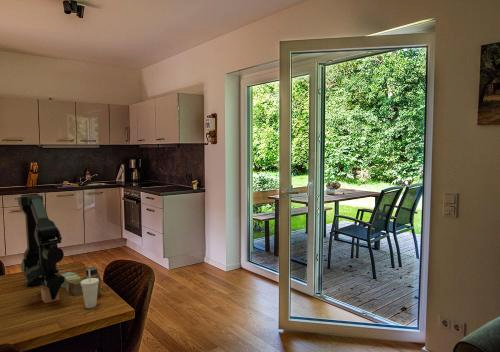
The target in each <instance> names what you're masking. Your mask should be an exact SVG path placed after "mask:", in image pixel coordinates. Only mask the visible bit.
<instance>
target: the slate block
mask: <svg viewBox="0 0 500 352" xmlns="http://www.w3.org/2000/svg"><path fill="white" fill-rule="evenodd" d="M60 274H61V273H60ZM61 275H62V276H64V277H69V276H74V275H78V273H76V272H71V271H68V272H65V273H62V274H61ZM60 288H64V289H65V282H64V283H63V284H62V285H61V287H60Z"/></svg>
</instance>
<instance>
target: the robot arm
mask: <svg viewBox="0 0 500 352" xmlns="http://www.w3.org/2000/svg"><path fill="white" fill-rule="evenodd" d="M17 204H18V206H19V208H20V211H21V212H22V213H23V214H24V217H25V219H24V221H25V229H26V230H25V231H26V232H25V233H26V235H25V236H26V250H25V251H24V253H23V258H22V261H21V263H20V269H21V270H20V271H21V272H22V275H23V276H24V279H25V282H24V284H25V286H26V287H27V288H31V287H35V286H40V285H42V287H44V286H46V287H48V288H49V292H50V296H51V299H52V300H54V299H55V298H56V296H57V293H58V291H59V292H60V289H61V288H62V287H61V285H62V284H63V283H64V282H65V277H64V276H62V275H61V273H59V271H60V270H59V268H58V263H59V262H62V260H63V258H64V255H65V252H64V251H63V249H62V248H60V247H58V244H61V243H62V239H63V238H62V234H61V232H60V230H59V228H58V227H57V225H56V224H55V222H54V221H52V220H51V219H49V216H48V212H47V211H46V208H45V204H44V196H43V194H41V195H40V194H38V193H28V194H27V193H26V194H21V195H20V197H18V198H17Z"/></svg>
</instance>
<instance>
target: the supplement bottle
mask: <svg viewBox="0 0 500 352" xmlns="http://www.w3.org/2000/svg"><path fill="white" fill-rule="evenodd" d="M85 269H86V270H85V271H86V273H85V274H84V275H83V280H85V279H89V271H88V270H90V278H97V279H99V283H98V291H97V298H99V297H100V296H101V294H102V293H101V274H100V273H99V272H98V268H97V267H95V266H93V267H88V268H85Z"/></svg>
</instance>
